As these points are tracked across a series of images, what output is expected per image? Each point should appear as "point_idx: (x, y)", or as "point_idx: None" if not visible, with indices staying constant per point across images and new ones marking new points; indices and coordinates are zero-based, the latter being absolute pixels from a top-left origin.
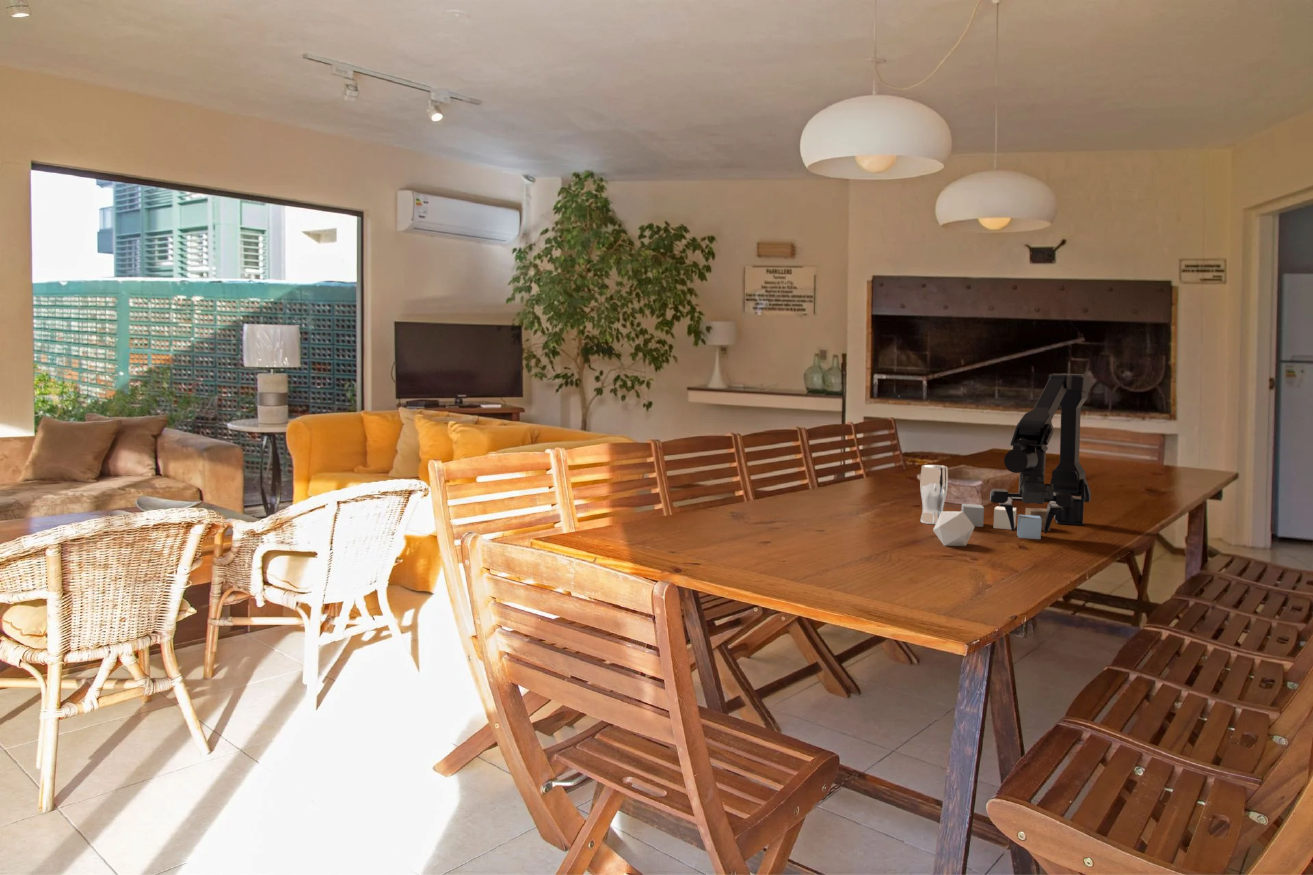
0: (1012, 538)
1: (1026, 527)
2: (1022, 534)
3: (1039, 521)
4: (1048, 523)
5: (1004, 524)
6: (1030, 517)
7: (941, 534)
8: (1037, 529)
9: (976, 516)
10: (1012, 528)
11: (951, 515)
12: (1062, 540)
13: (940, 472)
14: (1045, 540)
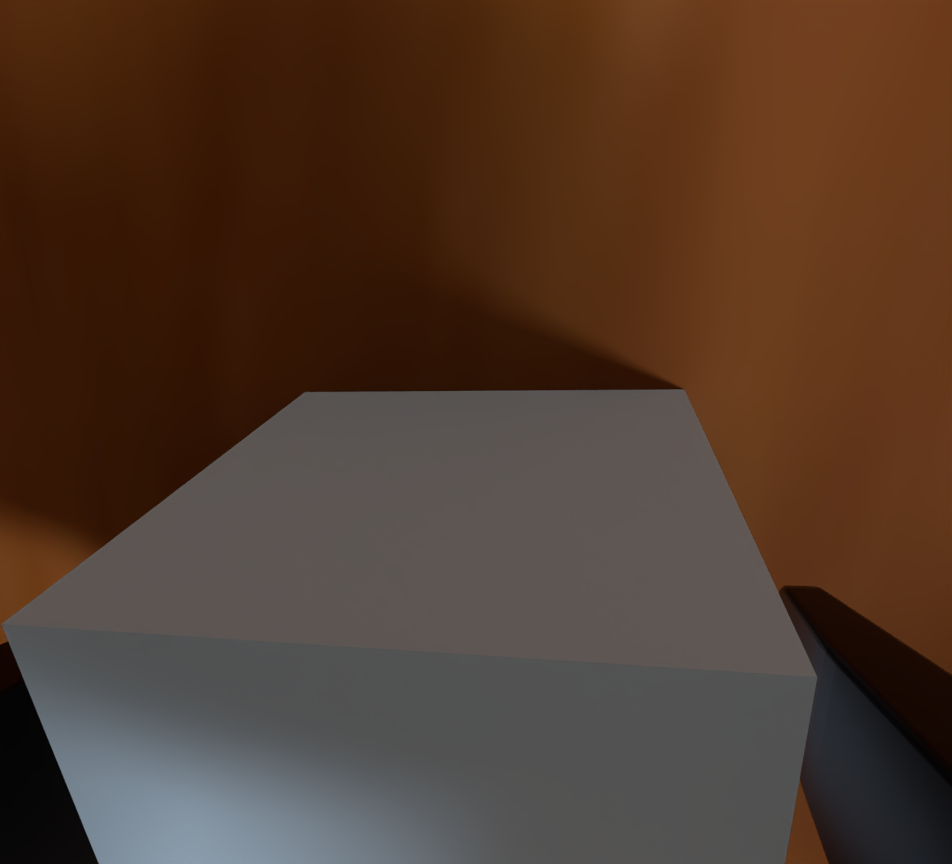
0: (836, 257)
1: (534, 486)
2: (618, 416)
3: (124, 580)
4: (1, 660)
5: None
6: (380, 844)
7: None
8: (287, 467)
9: None
10: (838, 616)
11: None
12: (2, 413)
13: None
14: (221, 305)
